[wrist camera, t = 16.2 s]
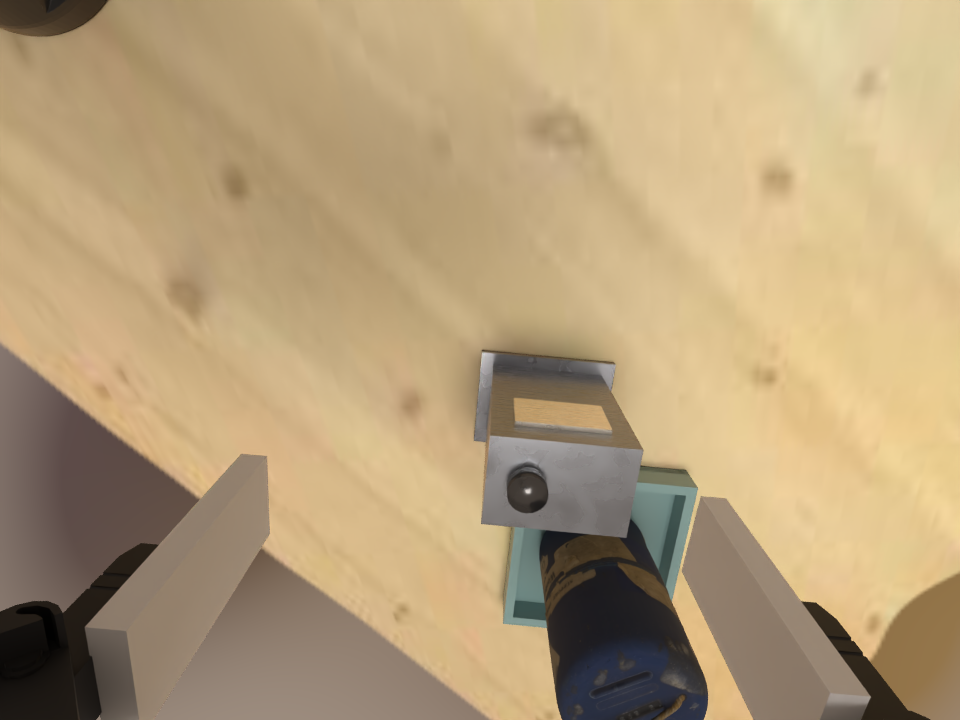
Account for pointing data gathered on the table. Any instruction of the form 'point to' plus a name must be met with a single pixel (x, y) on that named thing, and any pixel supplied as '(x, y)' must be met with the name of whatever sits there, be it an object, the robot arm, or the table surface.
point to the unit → (555, 445)
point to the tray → (654, 511)
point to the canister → (615, 632)
